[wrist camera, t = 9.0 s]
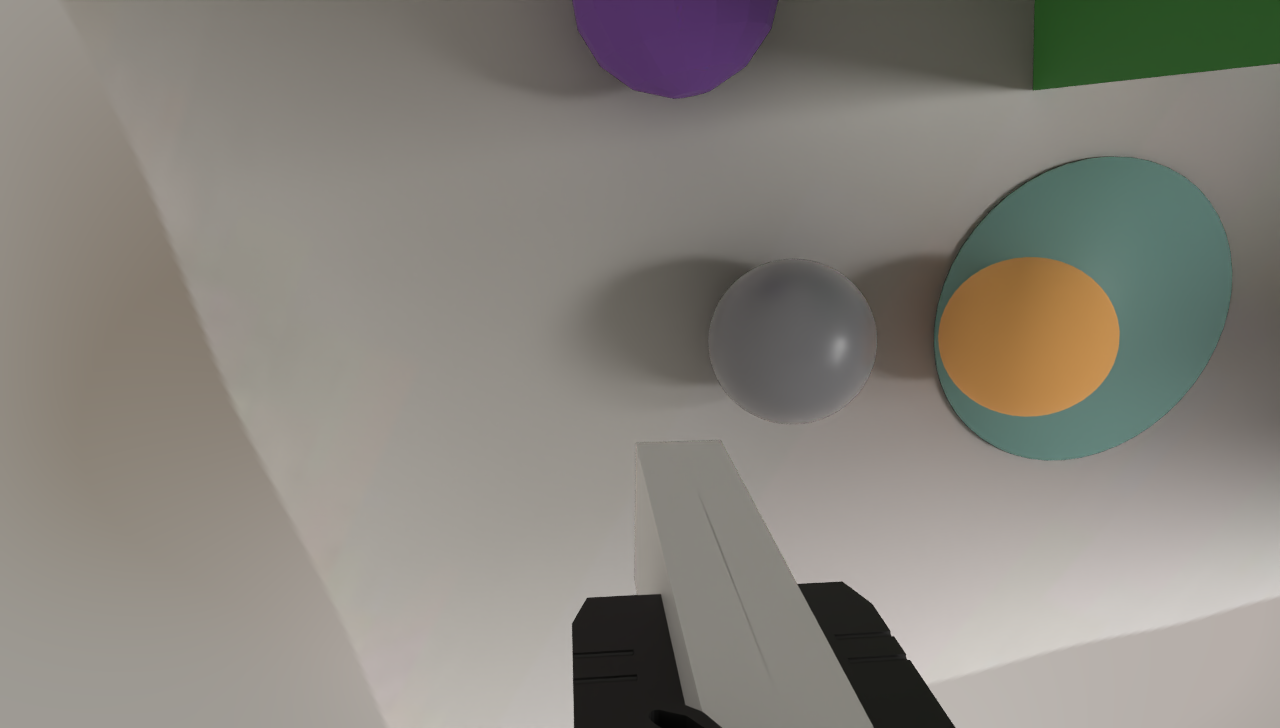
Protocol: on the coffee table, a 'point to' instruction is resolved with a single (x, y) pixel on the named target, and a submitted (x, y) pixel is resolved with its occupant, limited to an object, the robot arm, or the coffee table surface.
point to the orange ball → (1028, 336)
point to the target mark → (1109, 294)
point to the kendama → (673, 40)
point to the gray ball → (792, 341)
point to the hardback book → (1149, 38)
